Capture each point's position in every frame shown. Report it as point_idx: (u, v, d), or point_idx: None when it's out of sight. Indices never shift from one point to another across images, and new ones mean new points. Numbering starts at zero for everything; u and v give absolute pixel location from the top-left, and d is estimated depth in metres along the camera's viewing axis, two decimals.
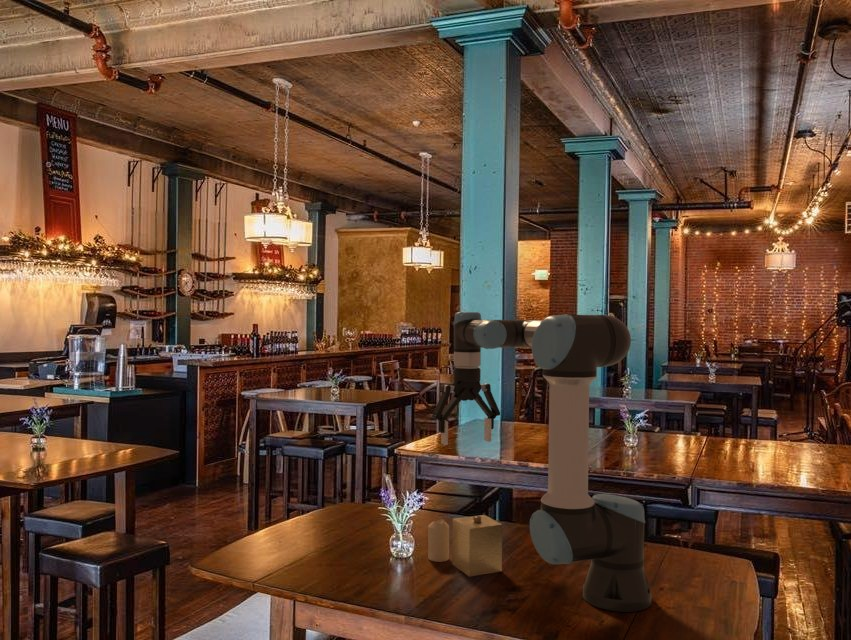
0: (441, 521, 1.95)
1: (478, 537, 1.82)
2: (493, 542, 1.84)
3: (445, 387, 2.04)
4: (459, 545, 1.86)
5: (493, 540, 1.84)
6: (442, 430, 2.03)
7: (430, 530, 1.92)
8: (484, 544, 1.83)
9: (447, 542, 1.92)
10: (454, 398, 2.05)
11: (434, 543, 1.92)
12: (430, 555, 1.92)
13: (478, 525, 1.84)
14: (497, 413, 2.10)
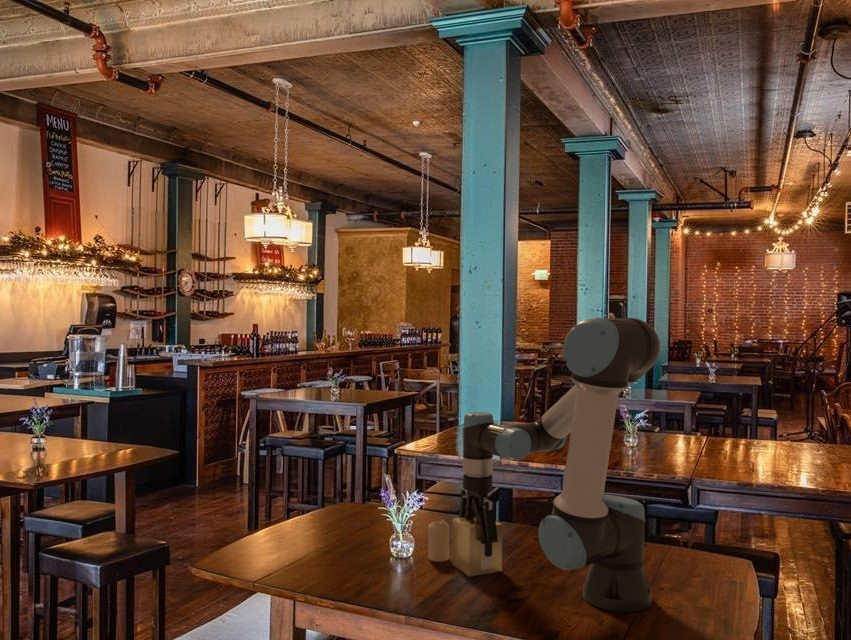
0: (441, 521, 1.95)
1: (478, 537, 1.82)
2: None
3: None
4: (459, 545, 1.86)
5: None
6: None
7: (430, 530, 1.92)
8: None
9: (447, 542, 1.92)
10: None
11: (434, 543, 1.92)
12: (430, 555, 1.92)
13: (478, 525, 1.84)
14: (487, 539, 1.80)
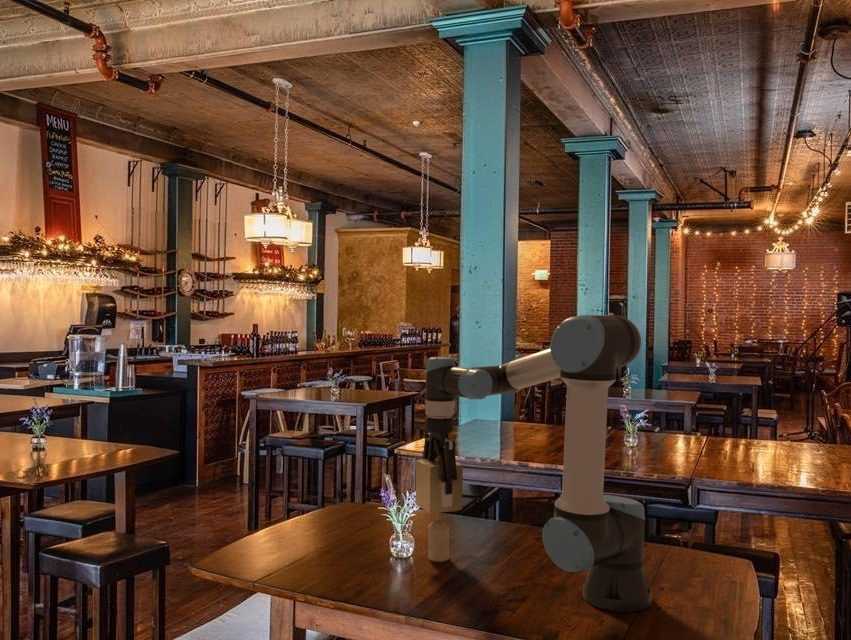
0: (441, 521, 1.95)
1: (439, 476, 1.89)
2: (453, 481, 1.90)
3: None
4: (421, 484, 1.93)
5: None
6: None
7: (430, 530, 1.92)
8: None
9: (447, 542, 1.92)
10: None
11: (434, 543, 1.92)
12: (430, 555, 1.92)
13: (439, 465, 1.90)
14: (447, 478, 1.86)
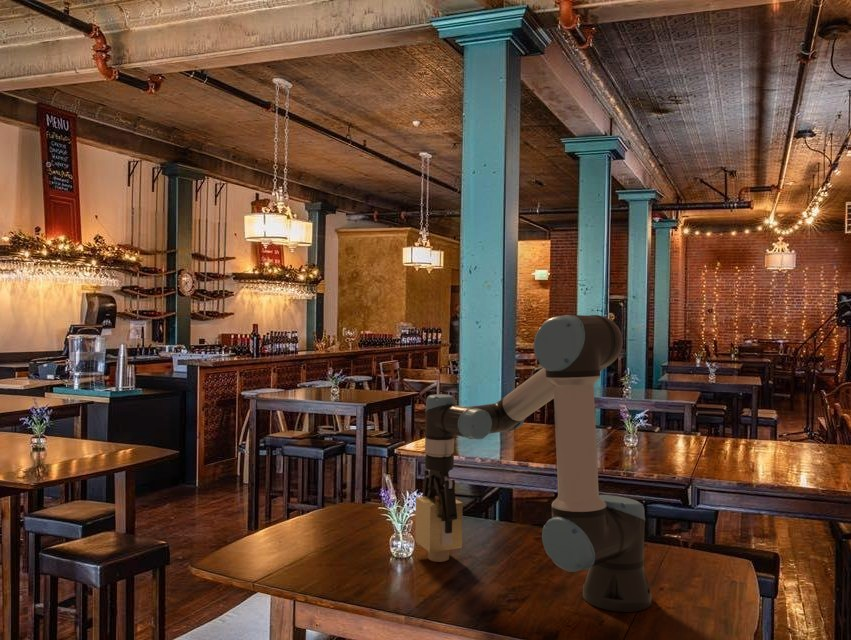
0: None
1: (439, 514, 1.89)
2: None
3: None
4: (421, 523, 1.93)
5: None
6: None
7: None
8: None
9: None
10: None
11: None
12: (430, 555, 1.92)
13: (439, 503, 1.91)
14: (447, 517, 1.87)
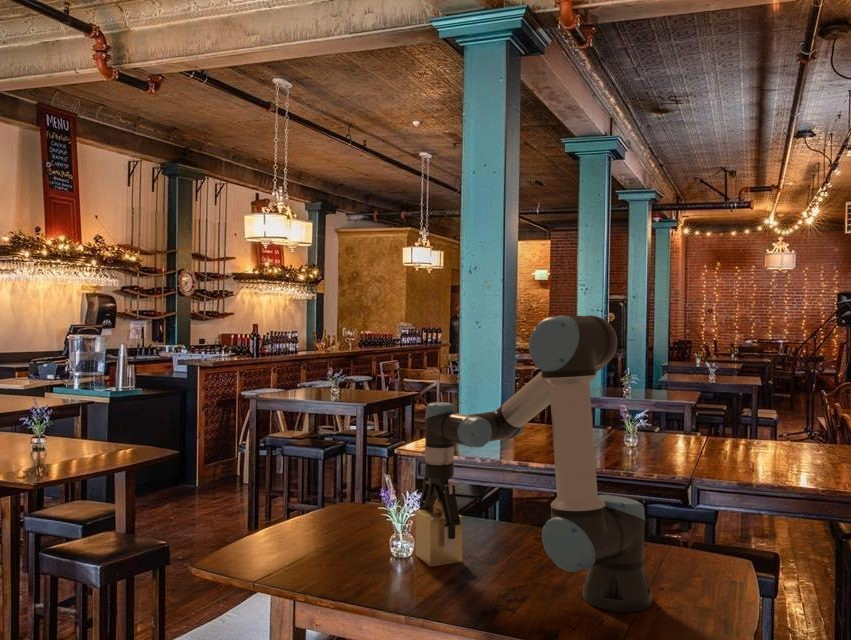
0: None
1: (439, 528, 1.89)
2: None
3: None
4: (421, 536, 1.93)
5: None
6: None
7: None
8: (444, 535, 1.90)
9: None
10: None
11: None
12: None
13: (439, 517, 1.91)
14: (450, 523, 1.85)
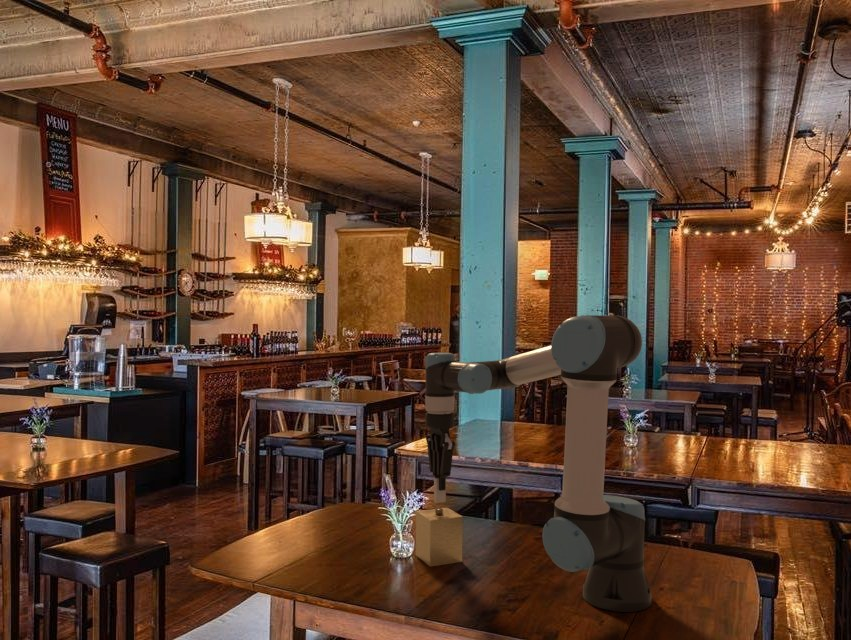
0: None
1: (439, 528, 1.89)
2: (453, 533, 1.91)
3: None
4: (421, 536, 1.93)
5: (454, 531, 1.91)
6: None
7: None
8: (444, 535, 1.90)
9: None
10: None
11: None
12: None
13: (439, 517, 1.91)
14: (440, 473, 1.90)
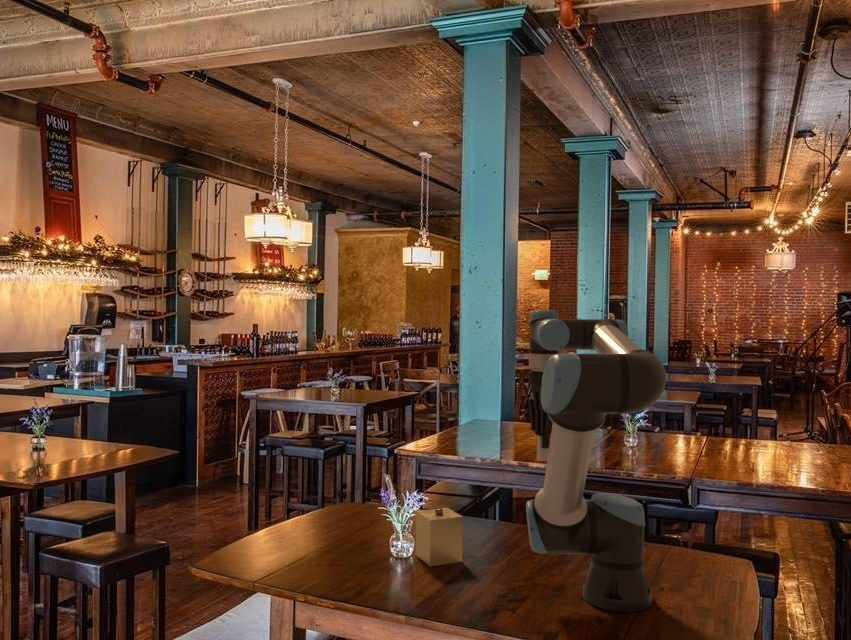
0: None
1: (439, 528, 1.89)
2: (453, 533, 1.91)
3: None
4: (421, 536, 1.93)
5: (454, 531, 1.91)
6: (537, 444, 1.93)
7: None
8: (444, 535, 1.90)
9: None
10: None
11: None
12: None
13: (439, 517, 1.91)
14: (545, 431, 1.89)
